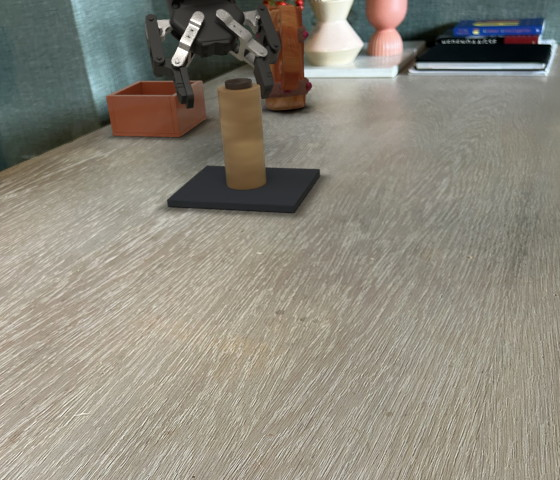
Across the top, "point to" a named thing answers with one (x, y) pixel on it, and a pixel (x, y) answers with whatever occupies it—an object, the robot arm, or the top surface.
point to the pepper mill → (242, 133)
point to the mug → (288, 60)
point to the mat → (246, 191)
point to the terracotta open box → (154, 110)
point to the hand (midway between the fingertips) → (229, 99)
